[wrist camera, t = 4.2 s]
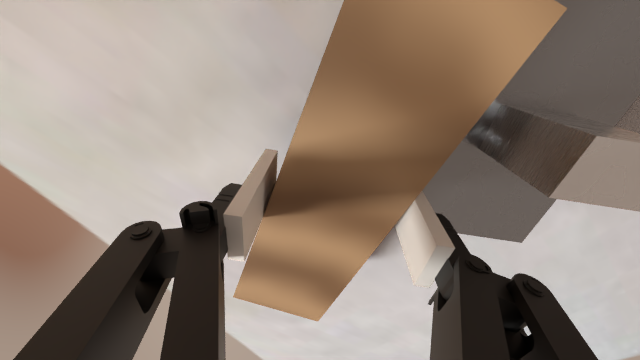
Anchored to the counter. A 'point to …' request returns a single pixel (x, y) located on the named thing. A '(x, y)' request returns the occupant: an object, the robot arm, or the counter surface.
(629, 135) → the fulcrum
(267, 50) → the counter surface
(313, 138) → the board
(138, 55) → the counter surface
